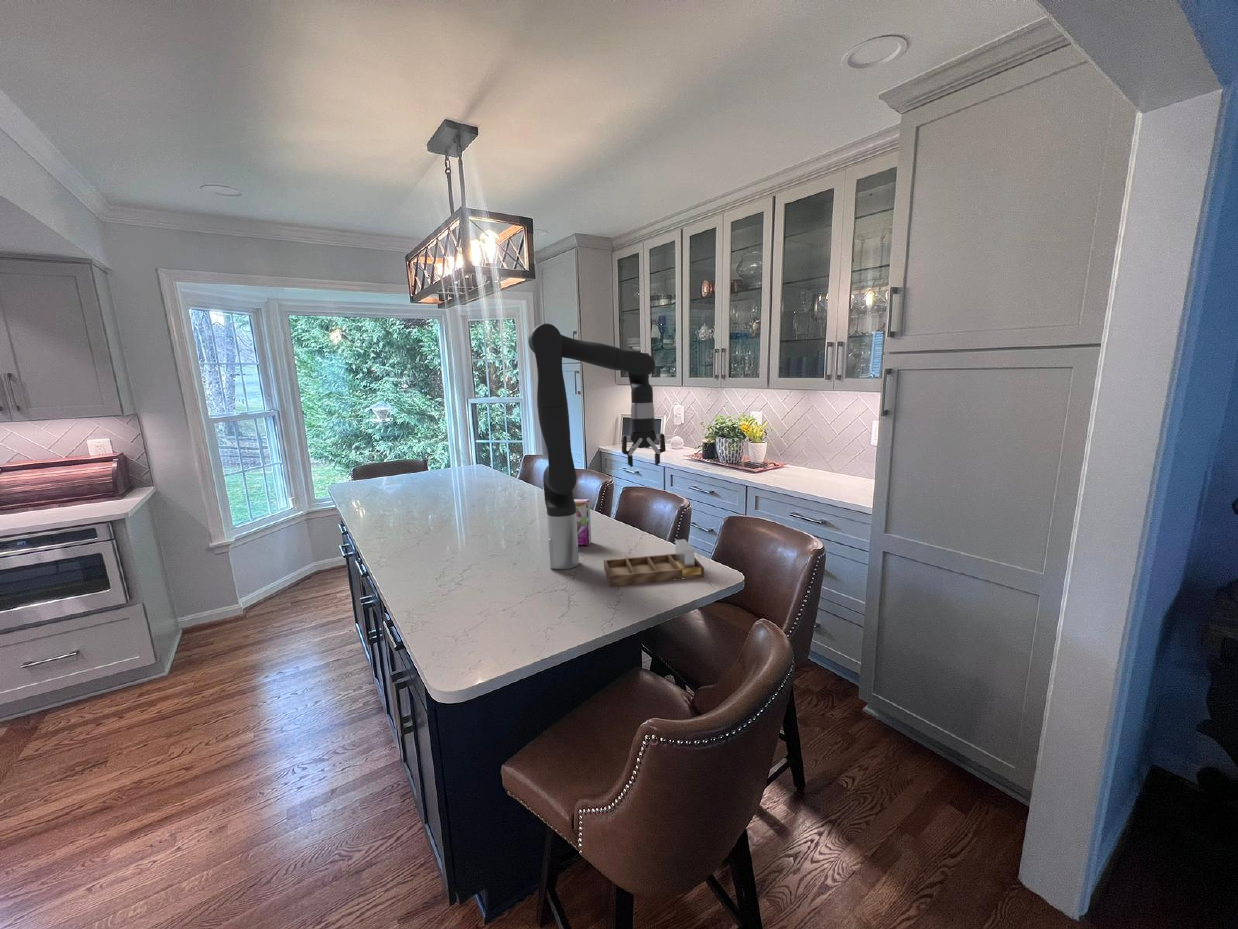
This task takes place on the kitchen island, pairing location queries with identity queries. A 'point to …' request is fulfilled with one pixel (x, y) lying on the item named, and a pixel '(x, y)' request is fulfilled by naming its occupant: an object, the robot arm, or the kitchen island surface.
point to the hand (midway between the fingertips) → (644, 465)
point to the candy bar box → (583, 521)
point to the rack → (648, 569)
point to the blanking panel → (684, 554)
